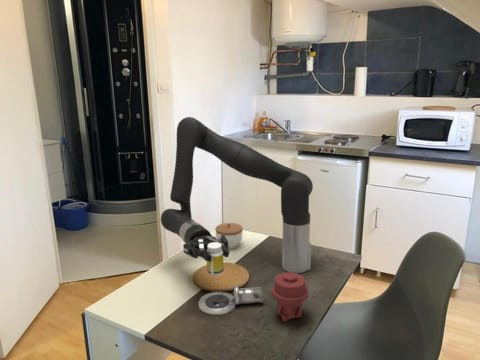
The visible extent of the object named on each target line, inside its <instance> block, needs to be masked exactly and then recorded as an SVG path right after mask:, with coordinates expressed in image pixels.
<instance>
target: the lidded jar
mask: <svg viewBox="0 0 480 360" xmlns="http://www.w3.org/2000/svg"><path fill="white" fill-rule="evenodd" d="M214 229H215V237H216V238H220V237H221V235H224V236H225V237H226V239H227V241H228V249H229V250H232V249H236V248H237V247H238V246H239V245H240V244H241V241H242V239H243V226H242V225H241V224H239V223H237V222H236V223H235V222H225V223H220V224H218V225H217V226H216V227H215V228H214Z"/></svg>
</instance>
